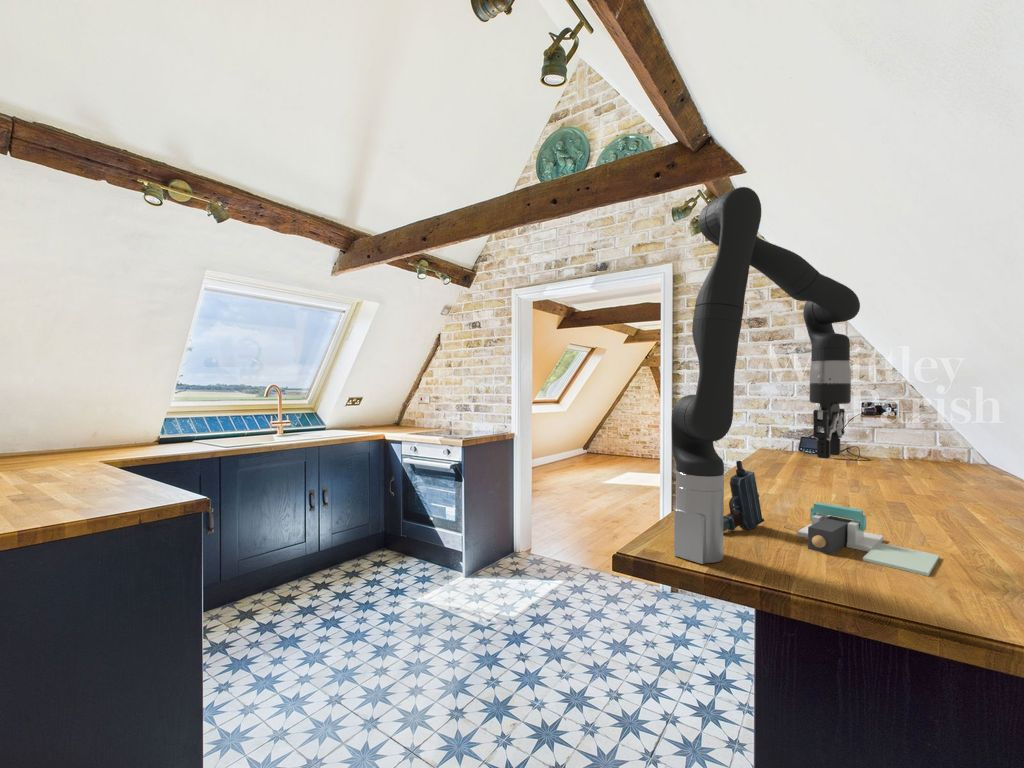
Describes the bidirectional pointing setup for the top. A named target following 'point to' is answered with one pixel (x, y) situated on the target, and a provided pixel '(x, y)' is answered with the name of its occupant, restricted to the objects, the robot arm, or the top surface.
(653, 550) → the top surface
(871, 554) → the mat
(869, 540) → the clamp
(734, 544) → the top surface
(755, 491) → the gun
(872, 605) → the top surface
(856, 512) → the teal drawer handle
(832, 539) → the grey block with knob
